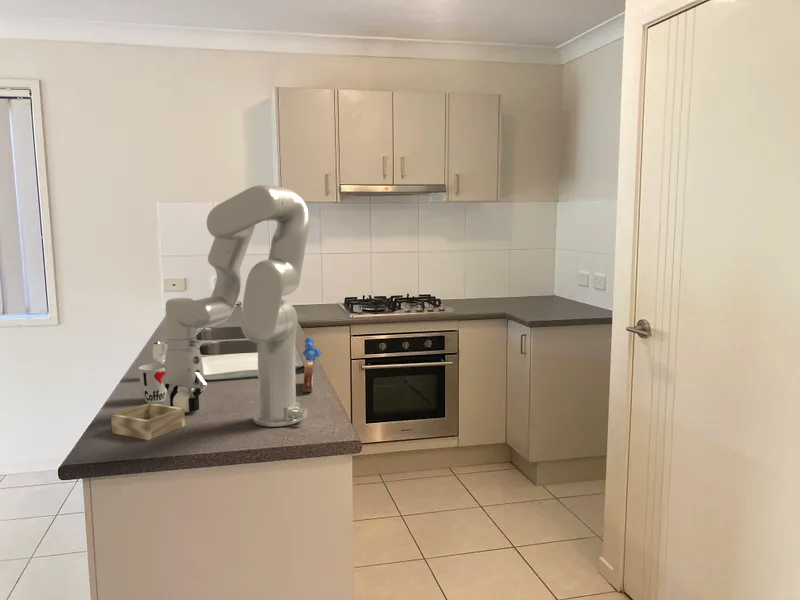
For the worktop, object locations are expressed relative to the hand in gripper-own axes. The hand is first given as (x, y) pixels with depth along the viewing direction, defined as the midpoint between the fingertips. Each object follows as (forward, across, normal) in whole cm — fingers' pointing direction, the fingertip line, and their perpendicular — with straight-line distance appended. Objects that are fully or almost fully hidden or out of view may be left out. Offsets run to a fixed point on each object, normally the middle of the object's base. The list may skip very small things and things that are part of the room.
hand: (184, 408), depth 177 cm
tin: (+1, -17, -35) cm, 39 cm away
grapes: (+1, -4, -57) cm, 57 cm away
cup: (+1, +16, -5) cm, 17 cm away
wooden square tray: (+1, -2, +15) cm, 15 cm away
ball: (-2, 0, 0) cm, 2 cm away
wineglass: (+1, +33, -25) cm, 41 cm away
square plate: (+2, +18, -45) cm, 48 cm away
